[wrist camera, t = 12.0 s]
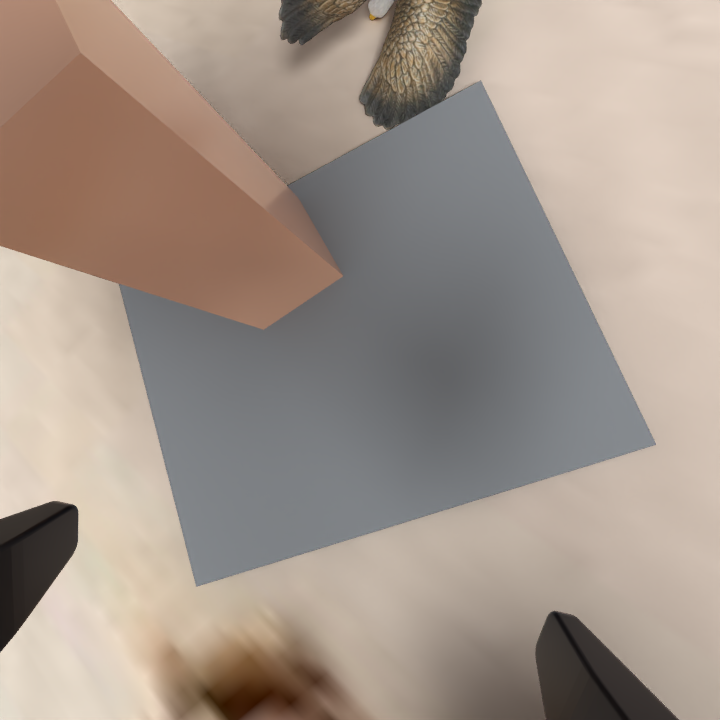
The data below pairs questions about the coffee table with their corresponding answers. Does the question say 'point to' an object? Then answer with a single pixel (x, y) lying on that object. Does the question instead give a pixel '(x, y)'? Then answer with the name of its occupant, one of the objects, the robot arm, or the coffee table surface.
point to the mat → (387, 358)
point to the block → (140, 171)
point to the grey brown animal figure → (397, 49)
